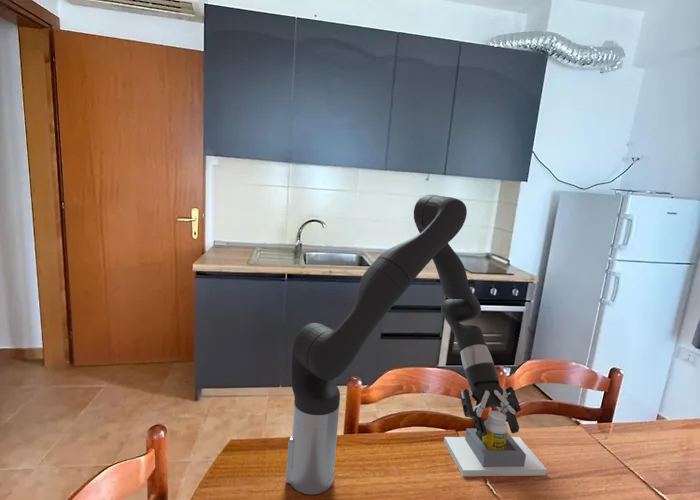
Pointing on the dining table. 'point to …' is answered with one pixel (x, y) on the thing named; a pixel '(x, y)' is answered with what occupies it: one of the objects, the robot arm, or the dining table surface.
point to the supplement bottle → (495, 431)
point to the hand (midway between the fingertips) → (499, 434)
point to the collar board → (492, 457)
